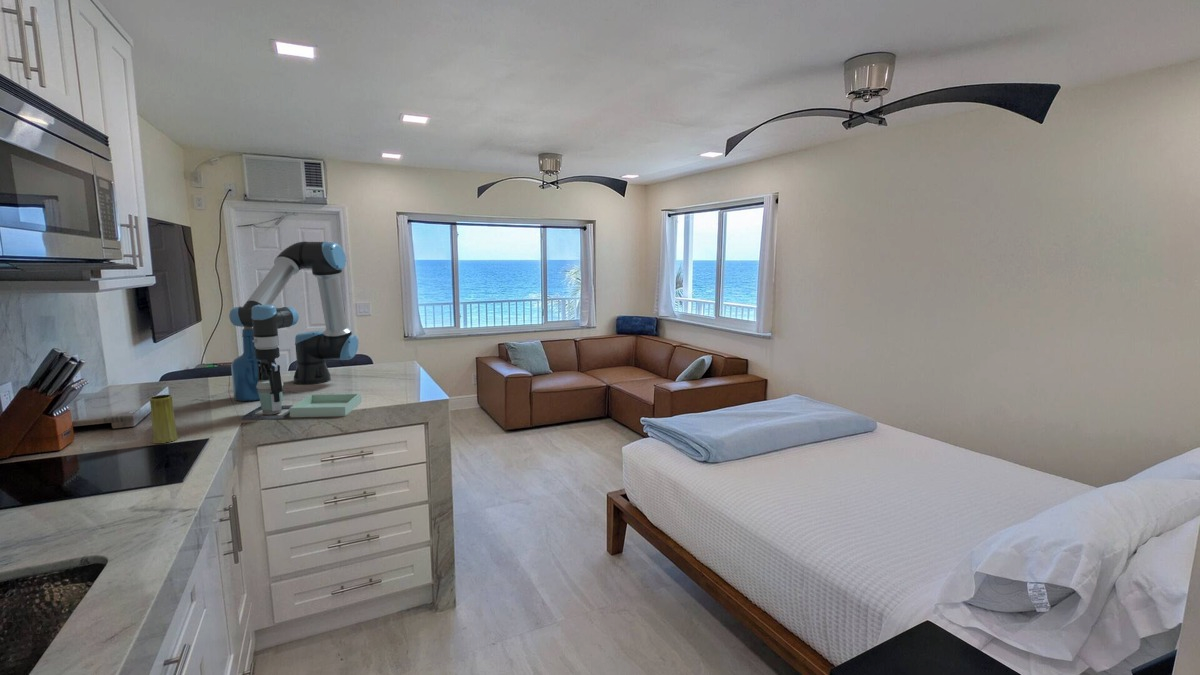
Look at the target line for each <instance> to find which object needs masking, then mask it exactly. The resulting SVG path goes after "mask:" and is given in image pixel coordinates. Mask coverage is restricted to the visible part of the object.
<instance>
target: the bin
mask: <svg viewBox="0 0 1200 675" xmlns="http://www.w3.org/2000/svg"><path fill="white" fill-rule="evenodd" d="M360 402H361V403H362V393H359V392H358V393H313V394H312V393H311V394H309V395H307V396H306V397H304V398H303V399H301V400H300V401H298V402H296V403H295V404H292V405H293V406H292V407H290V409H289V410H290V415H289V417H290V418H317V417H318V418H320V417H321V418H323V417H325V418H326V417H347V415H349V414H350V413H351V412H352V411H353V410H354V409H355V408H356V407H357V406H359V405H360V404H361V403H360ZM359 403H360V404H359Z"/></svg>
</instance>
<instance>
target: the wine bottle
mask: <svg viewBox="0 0 1200 675" xmlns="http://www.w3.org/2000/svg"><path fill="white" fill-rule="evenodd" d="M241 331H242V332H241V337H242V348H243V351H242V352H243V353H242V354H241V355H239V356H238V357H235V358H234V359H233V360H232V362H231V364H230V368H231V369H230V371H231V377H232V378H231V380H232V389H233V398H234V399H235V400H236V401H239V402H255V401H260V398H259V394H258V389H257V388H256V387H257V386H256V385H257V382H258V365H257V361H261V360H259V359H256V358H255V349H256V347H255V346H254V342H253V340H254V332H253V327H243V329H242V330H241Z"/></svg>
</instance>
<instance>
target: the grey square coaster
mask: <svg viewBox="0 0 1200 675" xmlns="http://www.w3.org/2000/svg"><path fill="white" fill-rule="evenodd" d="M293 405H294V404H289V405H286V404H282V409H281V410H284V409H285V410H286V409H288V410H287V411H285V412H284V413H282V414H270V415H266V414H263V415H255V414H257V413H259V412H262V407H261V405H260V406H258V407H256V408H255V409H253V410H251V411H250V412H248V413H246V414H245V415H242V416H241V420H245V421H246V420H249V421H251V420H284V419H286V418H287V417H288V416H289V417H290V407H292V406H293Z"/></svg>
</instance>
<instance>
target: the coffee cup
mask: <svg viewBox="0 0 1200 675" xmlns="http://www.w3.org/2000/svg"><path fill="white" fill-rule="evenodd" d="M281 383H282V390H283V389H284V388H283V386H284V382H283V381H282V379H281ZM256 386H257V387H256V388H257V389H258V394H259V398H260V400H259V402H260V406H261V407H262V410H261V412H262V414H263V415H278V414H280V413H281V412H282V410H283V409H282V405H283V391H282V392H280V402H281V410H276V411H272V403H271V394H270V393H271V392H272V391H271V386H270V382H269V379H268V380H260V381H258V382H257V385H256Z"/></svg>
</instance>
